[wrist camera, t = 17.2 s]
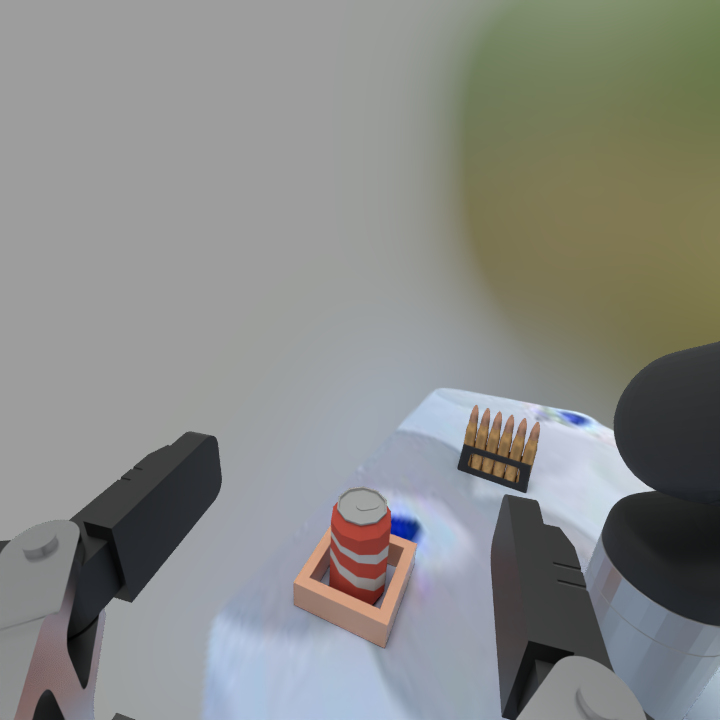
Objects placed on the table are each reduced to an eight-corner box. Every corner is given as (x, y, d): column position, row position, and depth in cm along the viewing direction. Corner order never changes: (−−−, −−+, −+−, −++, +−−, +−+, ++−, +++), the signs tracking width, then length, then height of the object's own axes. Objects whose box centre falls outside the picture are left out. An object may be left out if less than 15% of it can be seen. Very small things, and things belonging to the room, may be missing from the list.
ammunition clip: (457, 469, 65) (468, 405, 60) (460, 463, 66) (471, 400, 61) (526, 493, 60) (544, 427, 55) (527, 486, 62) (545, 421, 57)
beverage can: (392, 604, 43) (402, 521, 38) (334, 616, 42) (337, 532, 37) (376, 557, 48) (383, 480, 44) (324, 567, 47) (326, 488, 42)
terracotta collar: (337, 534, 51) (337, 514, 50) (413, 564, 48) (417, 544, 46) (294, 604, 43) (293, 582, 41) (384, 648, 39) (387, 625, 38)
